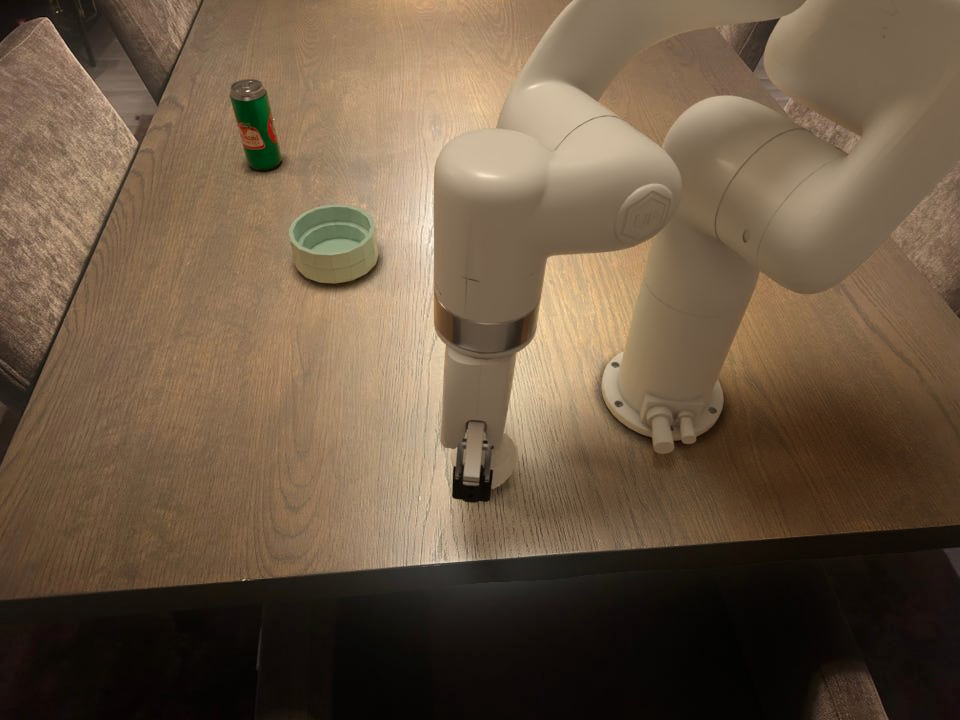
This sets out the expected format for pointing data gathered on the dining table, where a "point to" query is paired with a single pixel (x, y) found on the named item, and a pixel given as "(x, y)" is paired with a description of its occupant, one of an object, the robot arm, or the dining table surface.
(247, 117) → the soda can
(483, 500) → the robot arm
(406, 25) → the dining table surface
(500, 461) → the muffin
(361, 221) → the bowl
